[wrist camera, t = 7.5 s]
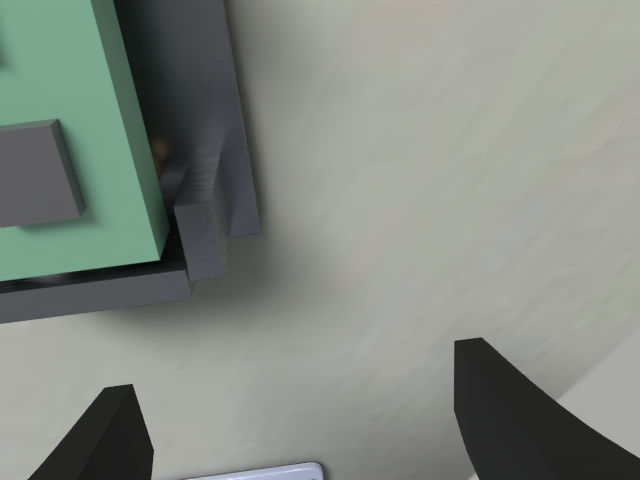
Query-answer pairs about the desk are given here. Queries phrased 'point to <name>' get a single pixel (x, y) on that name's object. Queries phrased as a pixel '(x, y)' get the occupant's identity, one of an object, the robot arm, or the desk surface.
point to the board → (72, 144)
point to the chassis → (169, 165)
